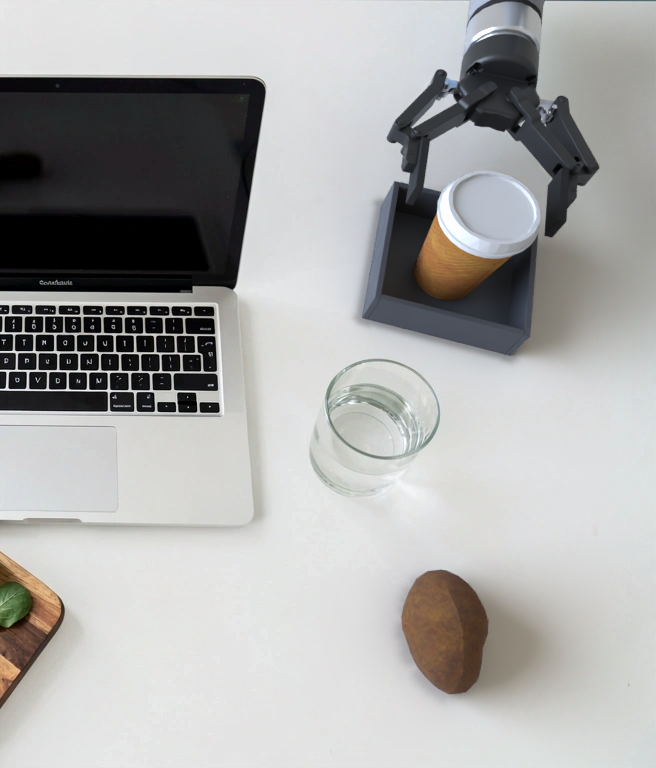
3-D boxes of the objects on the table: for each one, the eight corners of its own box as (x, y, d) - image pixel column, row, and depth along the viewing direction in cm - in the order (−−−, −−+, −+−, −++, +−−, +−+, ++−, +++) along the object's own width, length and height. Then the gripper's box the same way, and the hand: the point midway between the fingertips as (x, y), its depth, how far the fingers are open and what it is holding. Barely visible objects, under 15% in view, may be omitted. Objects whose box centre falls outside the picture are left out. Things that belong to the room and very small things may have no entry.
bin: (519, 240, 99) (540, 214, 95) (508, 358, 92) (530, 336, 88) (380, 206, 100) (394, 180, 96) (360, 320, 94) (374, 297, 90)
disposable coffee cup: (399, 231, 98) (443, 159, 88) (488, 247, 97) (544, 175, 87) (396, 305, 94) (442, 238, 83) (489, 322, 93) (547, 256, 83)
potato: (402, 698, 78) (434, 687, 71) (379, 578, 82) (407, 558, 76) (483, 695, 78) (522, 684, 72) (455, 575, 82) (489, 555, 76)
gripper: (599, 108, 99) (594, 264, 90) (372, 59, 102) (345, 205, 93) (640, 56, 92) (638, 219, 84) (396, 6, 95) (369, 157, 87)
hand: (484, 212), depth 88 cm, fingers open, 13 cm apart
